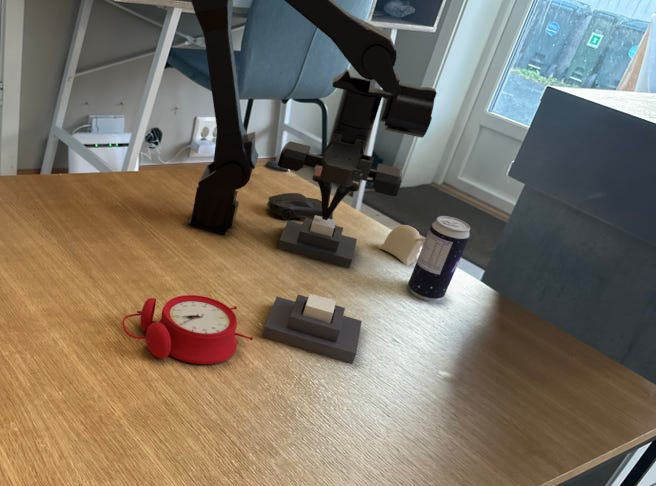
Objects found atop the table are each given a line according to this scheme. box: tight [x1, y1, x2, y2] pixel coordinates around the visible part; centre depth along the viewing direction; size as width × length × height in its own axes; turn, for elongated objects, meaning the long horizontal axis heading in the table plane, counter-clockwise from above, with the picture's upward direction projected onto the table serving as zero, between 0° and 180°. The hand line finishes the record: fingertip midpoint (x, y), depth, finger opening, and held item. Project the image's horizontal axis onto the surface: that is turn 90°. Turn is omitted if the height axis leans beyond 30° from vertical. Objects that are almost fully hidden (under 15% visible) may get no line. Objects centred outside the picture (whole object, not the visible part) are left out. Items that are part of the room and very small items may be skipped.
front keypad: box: [261, 294, 363, 365], centre depth 93 cm, size 12×9×4 cm
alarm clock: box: [121, 294, 254, 365], centre depth 86 cm, size 10×6×15 cm
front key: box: [303, 293, 337, 323], centre depth 92 cm, size 4×4×2 cm
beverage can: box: [407, 215, 471, 302], centre depth 106 cm, size 6×6×12 cm
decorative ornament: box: [377, 224, 426, 266], centre depth 118 cm, size 4×8×5 cm, turn 32°
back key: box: [310, 215, 337, 237], centre depth 115 cm, size 4×4×2 cm
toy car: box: [266, 192, 334, 222], centre depth 127 cm, size 6×12×4 cm, turn 99°
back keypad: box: [276, 218, 358, 270], centre depth 116 cm, size 12×9×4 cm
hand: (324, 219), depth 114 cm, fingers closed
